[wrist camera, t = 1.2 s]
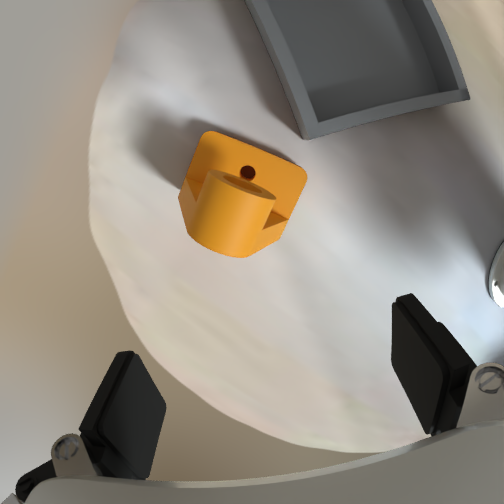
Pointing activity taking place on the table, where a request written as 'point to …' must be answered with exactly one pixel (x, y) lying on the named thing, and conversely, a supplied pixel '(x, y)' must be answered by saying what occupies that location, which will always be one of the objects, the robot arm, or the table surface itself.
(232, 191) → the bracket
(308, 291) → the table surface
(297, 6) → the tray
